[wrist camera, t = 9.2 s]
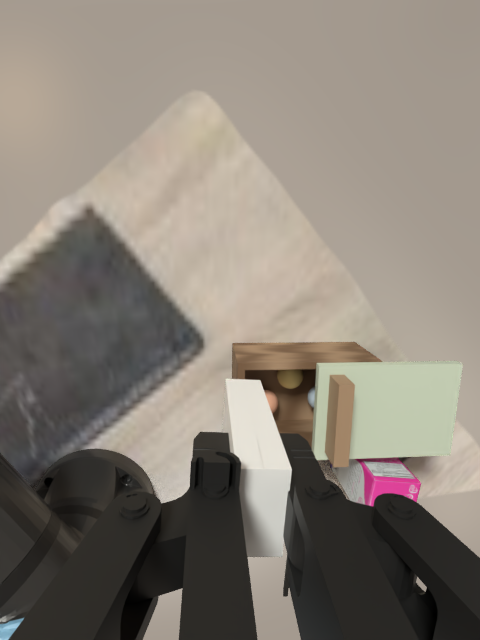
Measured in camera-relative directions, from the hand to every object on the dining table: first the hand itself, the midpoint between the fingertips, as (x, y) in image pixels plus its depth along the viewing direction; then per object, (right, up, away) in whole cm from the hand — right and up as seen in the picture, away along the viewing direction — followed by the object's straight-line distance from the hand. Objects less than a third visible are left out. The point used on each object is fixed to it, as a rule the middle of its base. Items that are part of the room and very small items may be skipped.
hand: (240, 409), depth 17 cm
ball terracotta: (+3, -6, +33) cm, 34 cm away
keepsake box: (+7, -4, +34) cm, 35 cm away
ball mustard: (+6, -3, +33) cm, 33 cm away
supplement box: (+16, -14, +37) cm, 43 cm away
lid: (+16, -6, +27) cm, 32 cm away
